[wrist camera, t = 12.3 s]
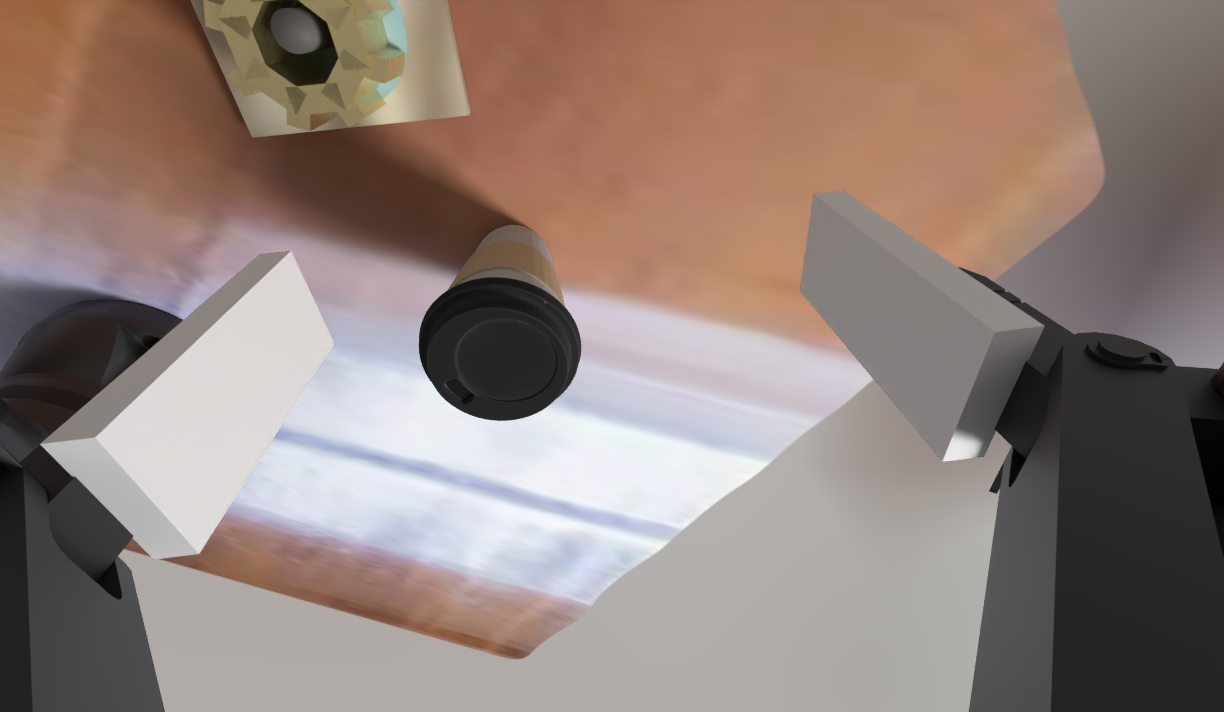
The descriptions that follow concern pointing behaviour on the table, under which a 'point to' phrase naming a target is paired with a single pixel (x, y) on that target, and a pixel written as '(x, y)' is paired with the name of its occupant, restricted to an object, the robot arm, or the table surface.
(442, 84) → the gear board
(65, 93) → the table surface
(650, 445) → the table surface
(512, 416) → the coffee cup
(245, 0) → the gear
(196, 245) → the table surface
